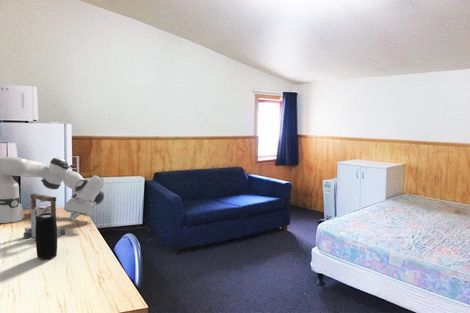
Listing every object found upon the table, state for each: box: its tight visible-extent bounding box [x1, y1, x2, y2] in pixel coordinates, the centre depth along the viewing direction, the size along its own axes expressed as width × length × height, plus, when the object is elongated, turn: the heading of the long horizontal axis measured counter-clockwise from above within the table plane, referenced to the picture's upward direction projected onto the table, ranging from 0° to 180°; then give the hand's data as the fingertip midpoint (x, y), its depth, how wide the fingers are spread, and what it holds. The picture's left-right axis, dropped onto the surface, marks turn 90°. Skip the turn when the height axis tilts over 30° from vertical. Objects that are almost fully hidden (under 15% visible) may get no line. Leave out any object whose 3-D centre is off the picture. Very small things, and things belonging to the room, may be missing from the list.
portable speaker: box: [35, 213, 58, 261], centre depth 162 cm, size 9×9×20 cm
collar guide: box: [23, 226, 66, 243], centre depth 192 cm, size 14×16×5 cm
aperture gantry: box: [29, 193, 57, 215], centre depth 191 cm, size 18×3×22 cm, turn 62°
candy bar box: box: [29, 203, 51, 240], centre depth 191 cm, size 11×5×16 cm, turn 151°
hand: (71, 219), depth 205 cm, fingers closed
